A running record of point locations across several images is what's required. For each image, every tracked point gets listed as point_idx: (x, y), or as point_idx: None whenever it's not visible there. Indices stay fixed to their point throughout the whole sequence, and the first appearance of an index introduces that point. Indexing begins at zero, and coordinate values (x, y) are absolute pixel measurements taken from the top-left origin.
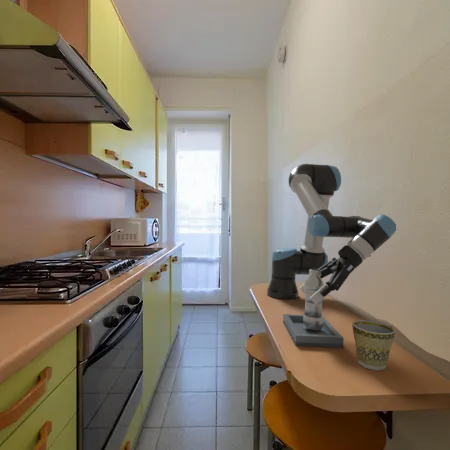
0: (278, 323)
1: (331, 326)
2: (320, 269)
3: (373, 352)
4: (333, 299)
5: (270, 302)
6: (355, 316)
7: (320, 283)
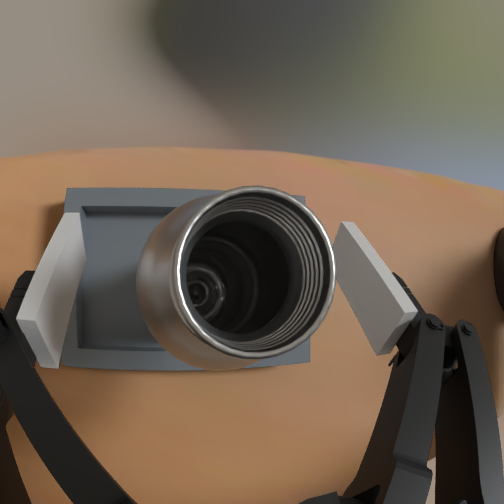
0: (277, 185)
1: (175, 365)
2: (464, 385)
3: None
4: (497, 418)
5: (464, 216)
6: None
7: (153, 317)
